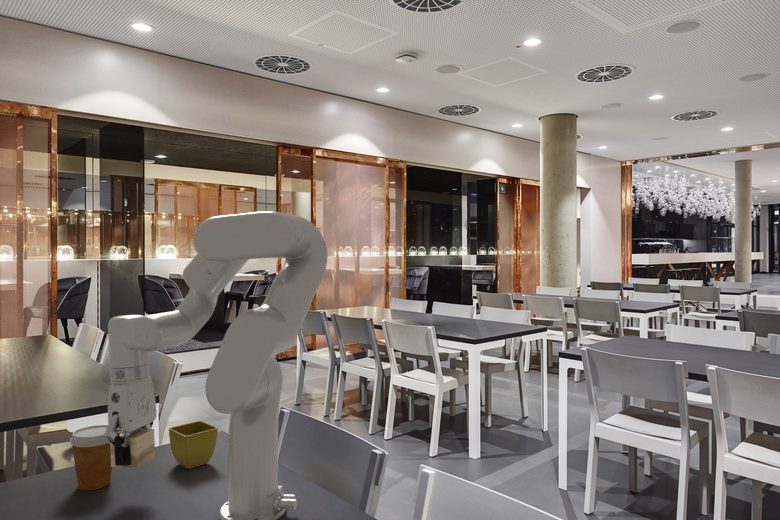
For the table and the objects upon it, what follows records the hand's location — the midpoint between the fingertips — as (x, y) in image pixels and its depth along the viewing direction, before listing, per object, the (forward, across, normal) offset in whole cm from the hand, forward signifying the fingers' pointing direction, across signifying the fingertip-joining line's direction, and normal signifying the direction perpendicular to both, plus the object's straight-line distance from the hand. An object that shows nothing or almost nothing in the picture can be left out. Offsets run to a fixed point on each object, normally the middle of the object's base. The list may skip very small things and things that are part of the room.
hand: (133, 458), depth 113 cm
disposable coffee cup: (+8, +4, +13) cm, 16 cm away
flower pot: (+8, +19, -2) cm, 21 cm away
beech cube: (+1, 0, 0) cm, 1 cm away
